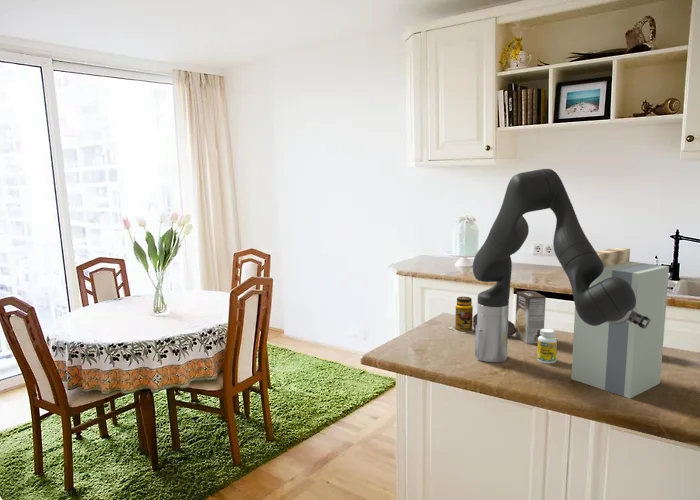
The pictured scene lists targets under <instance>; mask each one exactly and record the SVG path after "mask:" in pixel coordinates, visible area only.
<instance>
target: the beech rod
mask: <svg viewBox="0 0 700 500" xmlns="http://www.w3.org/2000/svg"><path fill="white" fill-rule="evenodd" d="M595 251H596V253H597V254H598V256H599V257H600V259H601V261H602V262H603V265H604V267H605V266H610V265H615V264H619V263H624V262H629V261H630V258H631V255H630V254H631V248H626V247H614V248H612V247H611V248H608V249H601V250H595ZM562 270H563V271H564V269H563V268H562ZM564 272H565V271H564Z"/></svg>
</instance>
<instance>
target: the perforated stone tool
mask: <svg viewBox="0 0 700 500" xmlns="http://www.w3.org/2000/svg"><path fill="white" fill-rule="evenodd" d="M472 317H473V318H472V328H474V329H475V331H476V325H477V313H476V314H475V315H473V316H472ZM515 332H516V329H515V324H514V323H513V322H512V321H511V320H509V319H508V337H511V336H514V335H515Z"/></svg>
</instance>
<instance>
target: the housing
mask: <svg viewBox="0 0 700 500" xmlns="http://www.w3.org/2000/svg"><path fill="white" fill-rule="evenodd" d="M669 271H670V266H669V265H659V264H654V263H653V264H651V263H644V262H638V261H630V260H629V262H624V263H619V264H615V265H610V266H605V267H604V270H603V272H602V274H601V275H600V276H599V277H598V278H597V279H595V280H594V281H593V282H592V283H591V284H590V286H589V288H590V287H592V286H593V285H595V284H597V283H599V282H601V281H603V280H605V279H607V278H610V277H619V278H622V279H624V280H625V281H626V282H627V283H628V284H629V285H630V286H631V287H632V289H633V291H634V293H635V297H636V305H635V307H634V309H635V310H637V311H638V314H642V315H643V316H647V317H648V318H650V320H651V321H649V324H648V326H647V327H646V329H645V328H644V329H643V328H641V327H639V325H637V324H636V325H635V324H634V323H633V322H632V323H628V322H626V321H625V322H623V323H620V324H611V323H607V322H605V323H603V324H601V325H598V326H592V325H589V324H587V323H585V322H584V321H583V320H582V319H581V318H580V317H579V315H578V313H577V311H576V307H575V306H574V317H573V318H574V320H573V321H574V322H573V338H572V339H573V340H572V341H573V342H572V357H571V359H572V361H571V380H573V381H577V382H580V383H583V384H585V385H589V386H591V387H594V388H597V389H600V390H603V391H606V392H609V393H613V394H615V395H619V396H621V397H623V398H627V399H633V398H634V397H637V396H638V395H640V394H642V393H644V392H645V391H648V390H649V389H651V388H654V387H655V386H658V385H660V384H661V379H662V378H661V374H662V365H663V364H662V361H663V348H664V337H665V325H666V324H665V323H666V311H667V300H668V299H667V296H668V286H669V273H670V272H669Z"/></svg>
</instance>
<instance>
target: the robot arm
mask: <svg viewBox="0 0 700 500" xmlns="http://www.w3.org/2000/svg"><path fill="white" fill-rule="evenodd" d="M564 185H565V184H564V183H563V181H562V179H561V177H560V176H559V175H558V173H557V172H556V171H555V170H553V169H552V168H541V169H536V170H530V171H529V170H528V171H524V172H520V173H517V174H515V175H513V176H512V177H511V178H510V180H509V182H508V183H507V185H506V186H507V187H506V190H505V194H504V197H503V201H502V203H501V206H500V209H499V212H498V214H497V216H496V218H495V219H494V221H493V223H492V226H491V228H490V230H489V233H488V235H487V237H486V239H485V241H484V243H483V244H482V245H481V247H480V249H478V250H477V253H476V255H475V256H474V258H473V261H472V273H473V276H474V278H475V280H478V281H479V282H483V283H484V282H485V283H492V282H493V283H495V284H494V285H493V286H492V287H490V288H488V289H486V290H483V291H480V292H479V293H478V295H477V306H476V307H477V310H476V311H477V312H476V314H477V325H476V330H475V331H474V332H475V335H474V339H475V341H474V342H475V343H474V345H475V346H474V355H475V357H476V359H477V361H482V362H483V361H484V362H487V363H502V362H505V361H507V359H508V344H509V343H508V341H509V340H508V339H509V338H508V337H509V336H508V320H509V311H510V310H509V309H510V307H509V305H510V294H511V280H512V272H513V271H512V269H513V268H512V267H513V266H512V265H513V262H512V257H511V256H512V255H514V254H515V253H517V252H518V251H519V250H520V249H521V247H522V246H523V245H524V243H525V242H526V240H527V239H528V236H529V231H530V230H529V224H528V222H527V220H526V218H525V216H524V215H525V214H527V213H532V212H536V211H543V210H547V209H550V210H551V211H552V213H553V214H554V216H555V218H556V220H555V222H556V223H555V230H554V235H553V243H552V244H553V251H554V254H555V256H556V259H557V260H558V262H559V264H560V265H561V267H562V270H563V269H564V272H565V275H566V276H567V279H568V280H569V281H568V282H569V284H570V286H571V287H570V288H571V291H572V296H573V302H574V308H575V307H576V311H577V313H578V315H579V317H580V318H581V319H582V320H583V321H584V322H585V323H587V324H589V325H592V326H598V325H601V324H603V323H605V322H607V323H611V324H620V323H623V322H625V321H626V322H628V323H632V322H633V323H634V324H635V325H636V324H637V325H639V327H641V328H643V329H644V328H645V329H646V327H647V326H648V324H649V321H651V320H650V318H648V317H647V316H643V315H642V314H638V311H637V310H635V309H634V307H635V305H636V297H635V293H634V291H633V289H632V287H631V286H630V285H629V284H628V283H627V282H626V281H625V280H624V279H622V278H619V277H610V278H607V279H605V280H603V281H601V282H599V283H597V284H595V285H593V286H592V287H590V288H589V286H590V284H591V283H592V282H593V281H594V280H595V279H597V278H598V277H599V276H600V275H601V274H602V272H603V270H604V265H603V262H602V261H601V259H600V257H599V256H598V254H597V253H596V251H597V250H596V249H595V248H594V246H593V244H591V242H590V241H589V239H588V238H587V236H586V234H585V232H584V230H583V228H582V226H581V224H580V222H579V219H578V217H577V214H576V212H575V209H574V207H573V204H572V202H571V200H570V197H569V195H568V192H567V190H566V187H565V186H564Z"/></svg>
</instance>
